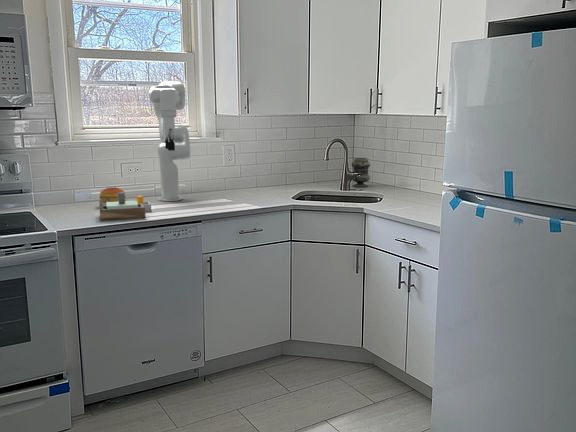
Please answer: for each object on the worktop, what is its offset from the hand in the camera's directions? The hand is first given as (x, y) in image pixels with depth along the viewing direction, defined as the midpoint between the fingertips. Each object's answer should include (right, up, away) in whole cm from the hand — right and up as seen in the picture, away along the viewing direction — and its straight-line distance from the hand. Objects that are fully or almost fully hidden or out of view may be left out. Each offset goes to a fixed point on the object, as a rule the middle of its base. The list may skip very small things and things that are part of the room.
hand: (170, 149), depth 280 cm
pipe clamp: (-19, -30, +4) cm, 36 cm away
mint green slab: (-20, -28, -12) cm, 37 cm away
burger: (-33, -28, +16) cm, 46 cm away
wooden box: (-20, -33, -11) cm, 41 cm away
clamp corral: (-19, -30, +4) cm, 36 cm away
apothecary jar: (+104, -14, +81) cm, 133 cm away
